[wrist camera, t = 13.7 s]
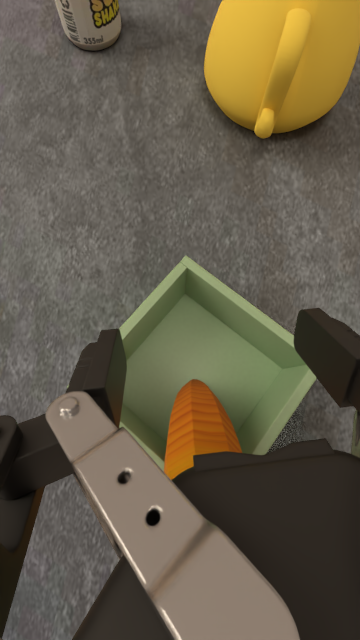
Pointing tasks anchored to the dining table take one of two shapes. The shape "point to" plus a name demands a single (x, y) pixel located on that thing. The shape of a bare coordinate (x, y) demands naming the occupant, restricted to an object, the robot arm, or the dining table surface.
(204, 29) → the dining table surface
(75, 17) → the beverage can
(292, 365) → the bin
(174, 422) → the carrot
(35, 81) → the dining table surface
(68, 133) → the dining table surface
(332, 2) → the teapot
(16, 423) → the robot arm
